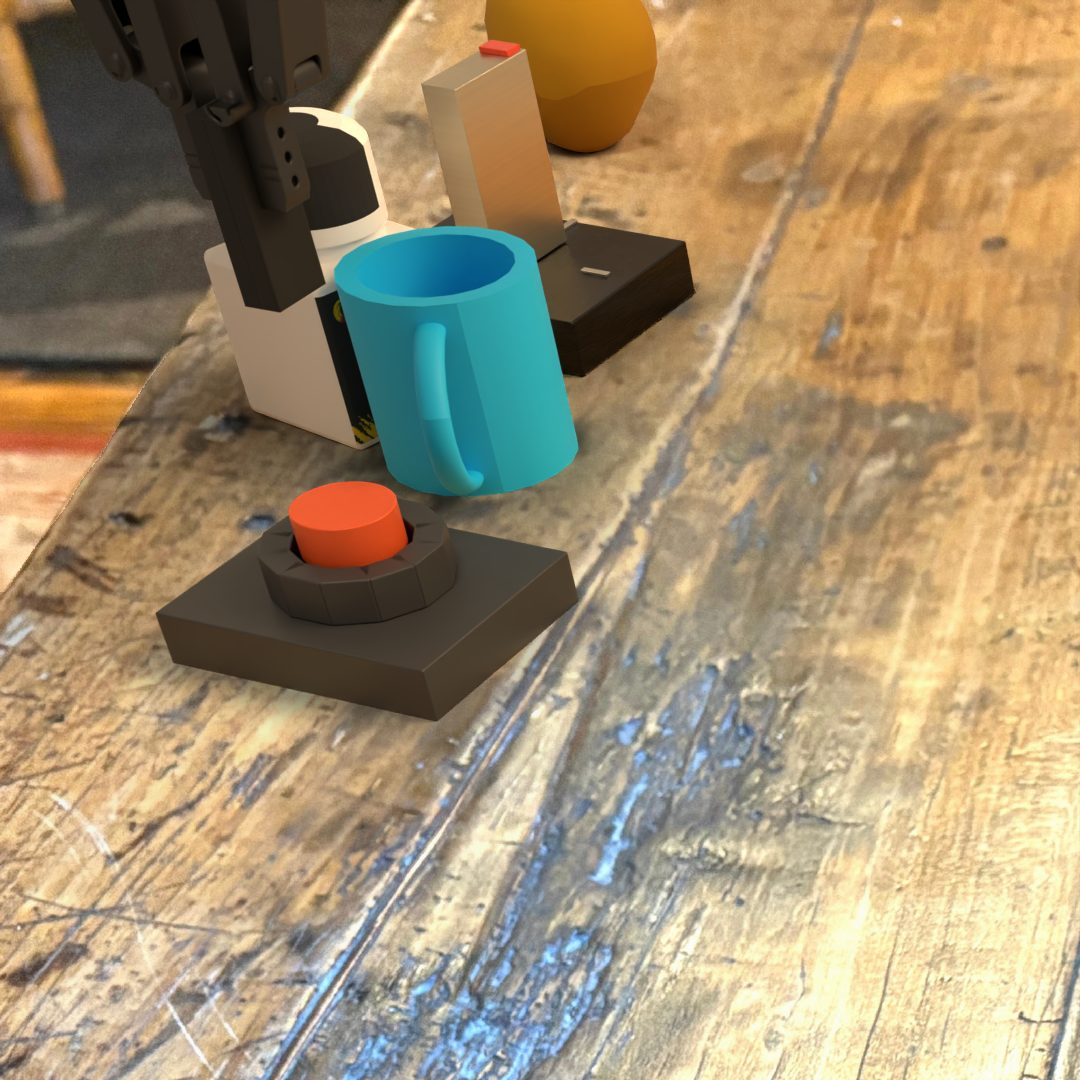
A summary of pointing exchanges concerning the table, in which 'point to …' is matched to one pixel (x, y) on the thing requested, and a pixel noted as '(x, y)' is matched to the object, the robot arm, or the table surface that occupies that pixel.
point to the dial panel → (608, 289)
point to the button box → (373, 616)
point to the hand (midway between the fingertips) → (285, 294)
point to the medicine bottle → (313, 293)
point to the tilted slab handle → (495, 146)
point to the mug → (458, 359)
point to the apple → (581, 64)
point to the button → (347, 524)
